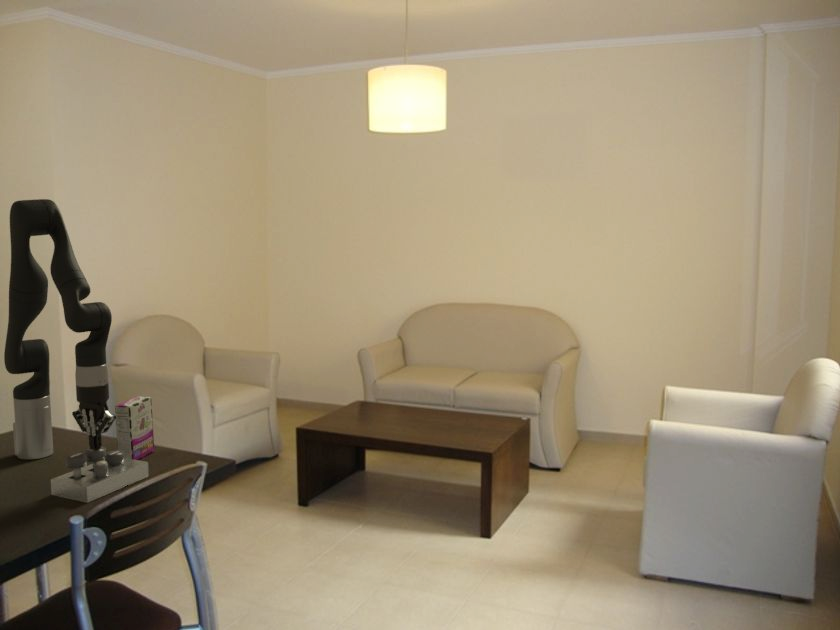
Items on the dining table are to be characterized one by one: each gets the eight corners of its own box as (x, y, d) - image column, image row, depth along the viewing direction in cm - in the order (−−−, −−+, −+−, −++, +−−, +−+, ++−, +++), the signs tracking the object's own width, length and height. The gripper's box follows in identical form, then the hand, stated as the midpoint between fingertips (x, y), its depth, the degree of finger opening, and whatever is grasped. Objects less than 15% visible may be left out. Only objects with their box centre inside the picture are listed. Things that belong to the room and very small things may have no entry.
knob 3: (101, 476, 196) (100, 454, 196) (115, 471, 201) (114, 448, 200) (115, 479, 194) (114, 456, 194) (129, 473, 199) (128, 451, 198)
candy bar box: (139, 450, 220) (136, 395, 218) (154, 451, 219) (152, 396, 217) (116, 462, 209) (113, 405, 207) (133, 463, 208) (130, 406, 206)
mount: (51, 494, 185) (50, 479, 184) (114, 470, 203) (113, 455, 203) (87, 502, 180) (86, 486, 180) (148, 476, 198) (148, 461, 198)
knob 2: (82, 473, 191) (80, 450, 190) (97, 468, 195) (96, 445, 194) (96, 476, 189) (95, 452, 188) (111, 470, 193) (110, 447, 192)
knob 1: (62, 480, 185) (61, 456, 184) (78, 474, 189) (77, 450, 189) (76, 483, 183) (75, 459, 182) (92, 477, 188) (91, 453, 187)
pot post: (92, 477, 186) (92, 463, 186) (102, 473, 189) (101, 459, 188) (101, 478, 185) (101, 465, 185) (111, 475, 188) (110, 461, 187)
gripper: (60, 382, 188) (64, 449, 190) (99, 387, 183) (103, 456, 185) (84, 376, 195) (88, 441, 197) (123, 381, 189) (126, 448, 192)
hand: (95, 448), depth 191 cm, fingers closed
